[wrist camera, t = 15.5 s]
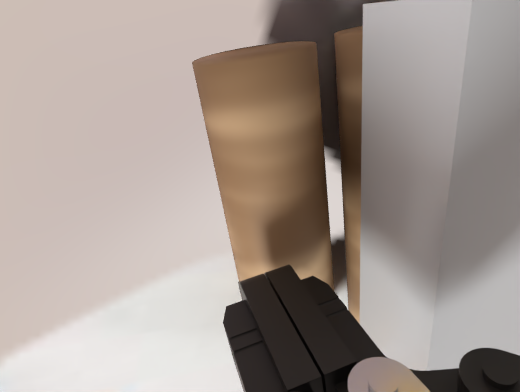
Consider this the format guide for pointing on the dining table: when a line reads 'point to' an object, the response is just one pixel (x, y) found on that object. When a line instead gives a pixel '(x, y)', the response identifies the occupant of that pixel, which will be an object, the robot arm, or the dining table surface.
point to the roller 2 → (350, 151)
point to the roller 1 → (269, 156)
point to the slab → (440, 179)
